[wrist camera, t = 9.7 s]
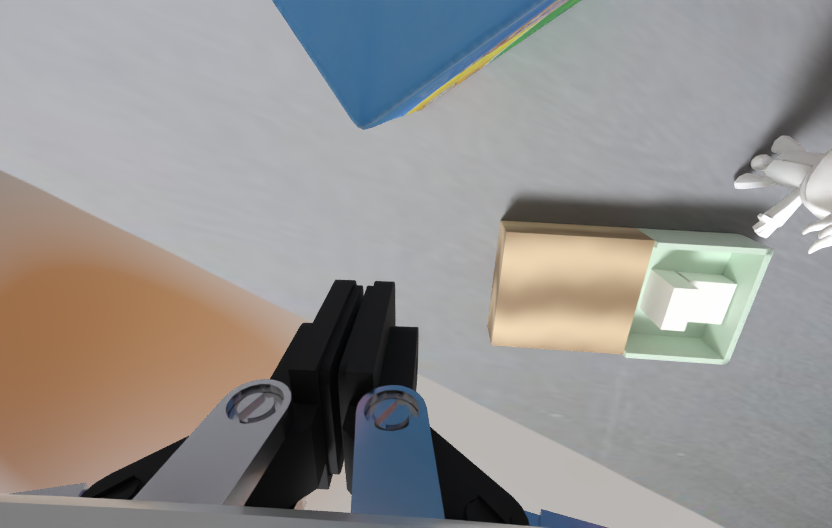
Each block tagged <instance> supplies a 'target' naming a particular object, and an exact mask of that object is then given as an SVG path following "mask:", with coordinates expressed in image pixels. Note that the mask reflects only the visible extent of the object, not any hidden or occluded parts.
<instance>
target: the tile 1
mask: <svg viewBox="0 0 832 528" xmlns="http://www.w3.org/2000/svg"><path fill="white" fill-rule="evenodd" d="M698 291H699V289H698V288H696V287H695V286H694V285H692V284H691V283H690V282H688V281H687V280H686V279H684V278H683V277H681V276H680V275H679V274H677V273H676V272H675V271H673V270H659V269H651V270H650V273H649V277H648V280H647V283H646V287H645V290H644V294H643V297H642V300H641V304H640V307H639V308H640V309H641V310H642V311H643V312H644V313H645V314H646V315H647V316H648V317H649V318H650V319H651V320H652V321H653V322H654V323H655V324H656V325H657V327H658V328H659V329H660V330H671V331H685V328H686V325H687V323H688V320H689V317H690V314H691V311H692V308H693V305H694V303H695V300H696V297H697V294H698Z"/></svg>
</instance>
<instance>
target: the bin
mask: <svg viewBox="0 0 832 528" xmlns="http://www.w3.org/2000/svg"><path fill="white" fill-rule="evenodd" d="M637 229H638V230H640V231H641V232H643V233H644V234H646V235H647V236H649V237H650V238H652V239H653V240H655V243H654V246H653V250H652V254H651V257H650V261H649V264H648V268H647V271H646V275H645V278H644V282H643V285H642V289H641V293H640V296H639V300H638V303H637V307H636V310H635V314H634V317H633V321H632V324H631V328H630V331H629V335H628V339H627V342H626V346H625V349H624V353H623V355H624V356H625V358H638V359H653V360H667V361H681V362H695V363H710V364H724V365H728V363H729V360H730V358H731V355H732V353H733V350H734V348H735V346H736V343H737V341H738V338H739V336H740V333H741V331H742V328H743V326H744V323H745V321H746V318H747V316H748V313H749V311H750V308H751V306H752V304H753V301H754V299H755V296H756V294H757V291H758V289H759V286H760V284H761V281H762V279H763V276H764V274H765V271H766V269H767V266H768V264H769V261H770V259H771V257H772V254H773V252H774V249H772V248H770V247H768V246H766V245H763V244H761V243H759V242H757V241H754V240H752V239H750V238H748V237H745V236H743V235H741V234H731V233H714V232H696V231H679V230H661V229H644V228H637ZM651 269H659V270H673V271H675V272H676V273H677V272H690V273H703V274H715V275H723V276H725V277H726V278H728V279H730V280H731V281H733V282H734V283H736V284H737V286H736V289H735V291H734V294H733V296H732V299H731V301H730V304H729V306H728V309H727V311H726V314H725V316H724V319H723V321H722V324H709V323H697V322H688V323H687V325H686V328H685V331H671V330H660V329H659V328H658V327H657V325H656V324H655V323H654V322H653V321H652V320H651V319H650V318H649V317H648V316H647V315H646V314H645V313H644V312H643V311H642V310H641V309H640V308H639V307H640V304H641V300H642V297H643V294H644V290H645V287H646V283H647V280H648V277H649V273H650V270H651Z"/></svg>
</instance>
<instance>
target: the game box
mask: <svg viewBox="0 0 832 528" xmlns="http://www.w3.org/2000/svg"><path fill="white" fill-rule="evenodd" d="M272 1H273V2H274V4H275V5H276V7H277V8H278V10H279V11H280V13H281V14H282V16H283V17H284V19H285V20H286V22H287V23H288V25H289V26H290V28H291V29H292V31H293V32H294V34H295V35H296V37H297V38H298V40H299V41H300V43H301V44H302V46H303V47H304V49H305V50H306V52H307V53H308V55H309V56H310V58H311V59H312V61H313V62H314V64H315V65H316V67H317V68H318V70H319V71H320V73H321V74H322V76H323V77H324V79H325V80H326V82H327V83H328V85H329V86H330V88H331V89H332V91H333V92H334V94H335V95H336V97H337V99H338V100H339V102H340V103H341V105H342V106H343V108H344V109H345V111H346V112H347V114H348V115H349V117H350V118H351V120H352V121H353V122H354V123H355V124H356V125H357V127H359V128H361V129H363V130H364V129H368V128H372V127H375V126H377V125H379V124H382V123H384V122H386V121H389V120H392V119H395V118H398V117H401V116H404V115H407V114H410V113H412V112H415V111H418V110H421V109H423V108H424V107H426V106H427V105H429V104H430V103H431V102H433V101H434V100H436V99H437V98H439V97H440V96H442V95H443V94H445V93H446V92H447V91H449V90H450V89H452V88H453V87H455V86H456V85H458V84H459V83H461V82H462V81H463V80H465V79H466V78H468V77H469V76H471V75H472V74H474V73H475V72H477V71H478V70H480V69H481V68H483V67H484V66H485V65H487V64H488V63H490V62H491V61H493V60H494V59H496V58H497V57H499V56H500V55H502V54H503V53H505V52H506V51H508V50H509V49H510V48H512V47H513V46H515V45H516V44H518V43H519V42H521V41H522V40H524V39H525V38H527V37H528V36H530V35H531V34H533V33H534V32H535V31H537V30H538V29H540V28H541V27H543V26H544V25H546V24H547V23H549V22H550V21H552V20H553V19H555V18H556V17H557V16H559V15H560V14H562V13H563V12H565V11H566V10H568V9H569V8H571V7H572V6H574V5H575V4H576V3H578V2H579V1H581V0H272Z"/></svg>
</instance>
